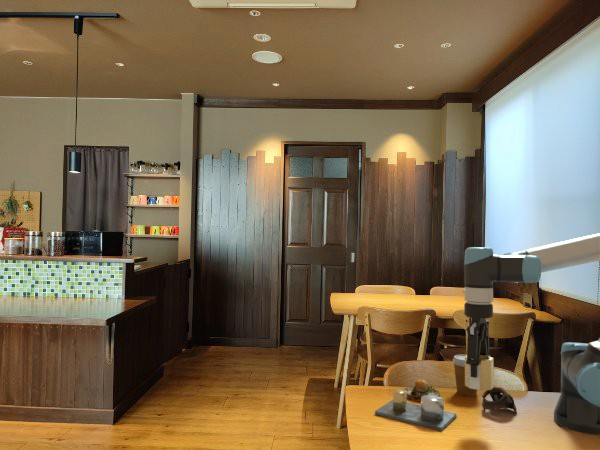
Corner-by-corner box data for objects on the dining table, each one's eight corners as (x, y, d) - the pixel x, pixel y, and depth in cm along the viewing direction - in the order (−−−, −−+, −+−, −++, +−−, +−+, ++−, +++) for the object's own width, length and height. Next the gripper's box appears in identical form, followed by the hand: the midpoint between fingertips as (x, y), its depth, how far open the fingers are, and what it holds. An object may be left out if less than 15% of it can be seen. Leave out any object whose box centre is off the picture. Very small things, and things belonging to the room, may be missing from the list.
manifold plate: (456, 417, 143) (456, 396, 143) (441, 431, 132) (442, 409, 133) (393, 402, 154) (393, 383, 155) (375, 414, 144) (375, 393, 144)
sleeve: (495, 385, 136) (495, 356, 136) (489, 391, 131) (489, 361, 131) (469, 381, 140) (469, 353, 140) (462, 387, 135) (462, 358, 135)
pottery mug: (524, 419, 144) (513, 397, 142) (493, 430, 145) (483, 408, 144) (509, 396, 156) (500, 374, 154) (481, 406, 157) (471, 386, 156)
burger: (445, 396, 163) (445, 373, 163) (433, 406, 153) (433, 382, 153) (410, 389, 169) (411, 367, 169) (397, 398, 160) (397, 375, 160)
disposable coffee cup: (484, 392, 167) (484, 357, 167) (478, 399, 159) (478, 362, 159) (456, 387, 172) (456, 352, 172) (448, 394, 164) (449, 358, 164)
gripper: (474, 297, 146) (474, 374, 146) (454, 305, 130) (454, 391, 129) (500, 299, 142) (501, 379, 142) (483, 307, 126) (483, 397, 125)
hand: (478, 385), depth 136 cm, fingers closed on sleeve, 7 cm apart
